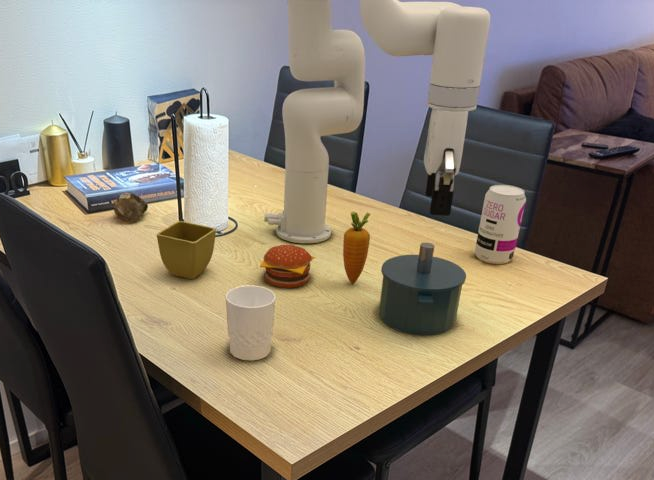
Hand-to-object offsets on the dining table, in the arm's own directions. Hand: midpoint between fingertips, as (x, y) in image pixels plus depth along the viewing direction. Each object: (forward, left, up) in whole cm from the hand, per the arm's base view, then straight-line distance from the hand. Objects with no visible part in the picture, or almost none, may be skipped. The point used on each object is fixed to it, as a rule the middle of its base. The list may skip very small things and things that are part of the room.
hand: (437, 205), depth 115 cm
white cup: (-29, -17, -21) cm, 40 cm away
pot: (-1, 0, -21) cm, 21 cm away
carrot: (-13, +12, -21) cm, 27 cm away
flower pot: (-46, +11, -21) cm, 51 cm away
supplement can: (+17, +30, -21) cm, 41 cm away
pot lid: (-1, 0, -12) cm, 12 cm away
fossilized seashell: (-67, +40, -21) cm, 80 cm away
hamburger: (-26, +12, -21) cm, 35 cm away
